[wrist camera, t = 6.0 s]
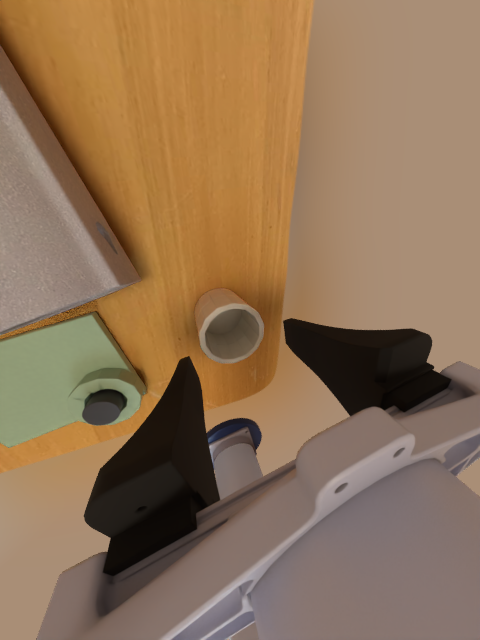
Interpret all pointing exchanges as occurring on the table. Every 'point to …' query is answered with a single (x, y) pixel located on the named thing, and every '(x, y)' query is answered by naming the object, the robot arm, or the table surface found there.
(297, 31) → the table surface
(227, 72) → the table surface
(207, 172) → the table surface
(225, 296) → the cup
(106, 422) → the button
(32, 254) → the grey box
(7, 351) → the scale
